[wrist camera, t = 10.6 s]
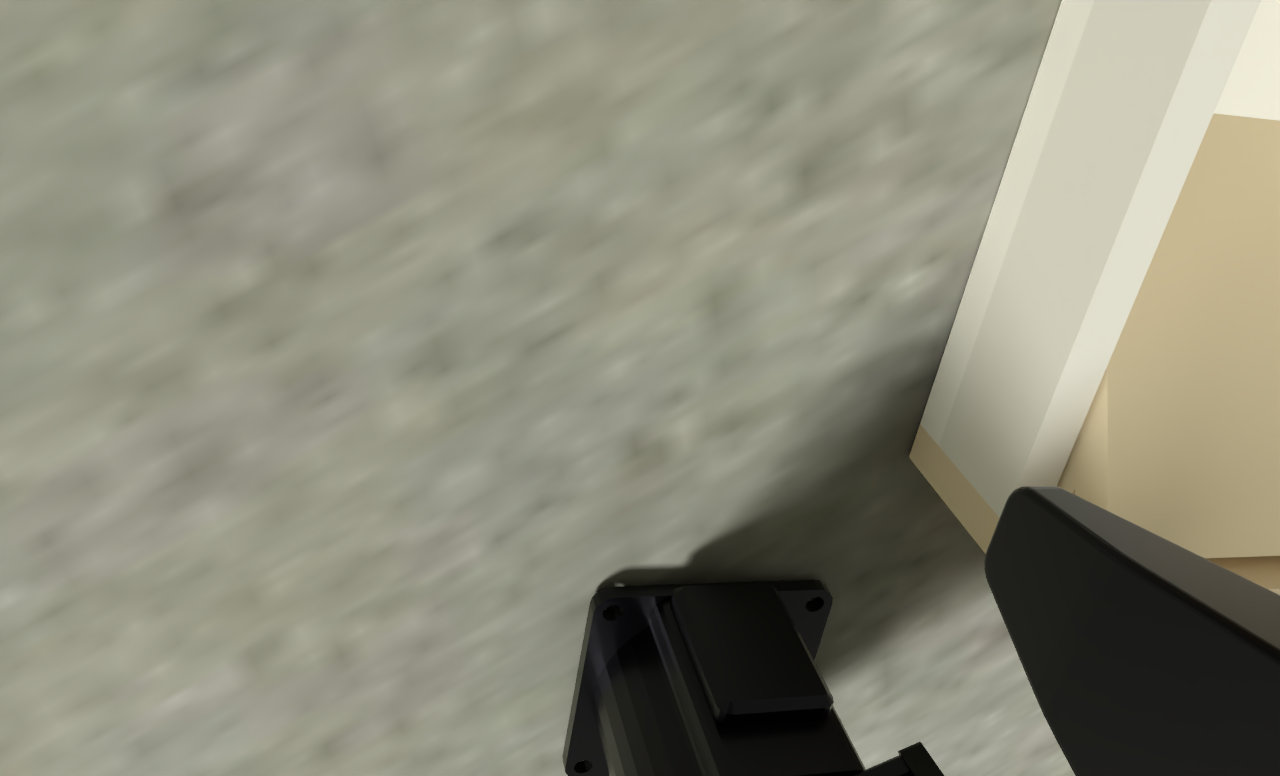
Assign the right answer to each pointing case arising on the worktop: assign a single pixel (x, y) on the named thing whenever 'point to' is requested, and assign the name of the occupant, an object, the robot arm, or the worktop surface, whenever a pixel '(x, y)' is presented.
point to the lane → (1130, 288)
